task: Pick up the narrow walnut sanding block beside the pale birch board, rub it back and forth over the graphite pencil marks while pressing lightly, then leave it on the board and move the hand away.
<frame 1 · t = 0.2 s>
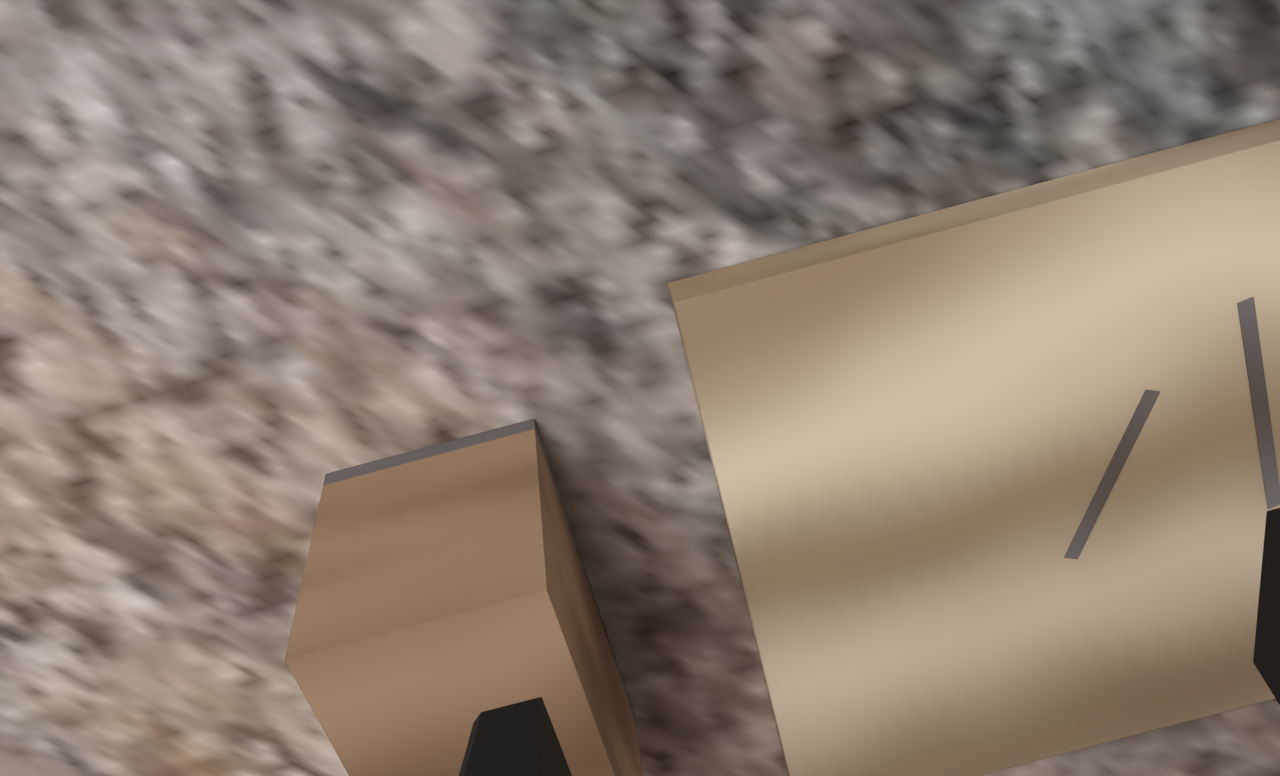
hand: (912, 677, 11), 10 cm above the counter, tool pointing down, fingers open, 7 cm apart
sanding block: (493, 599, 22), on the counter
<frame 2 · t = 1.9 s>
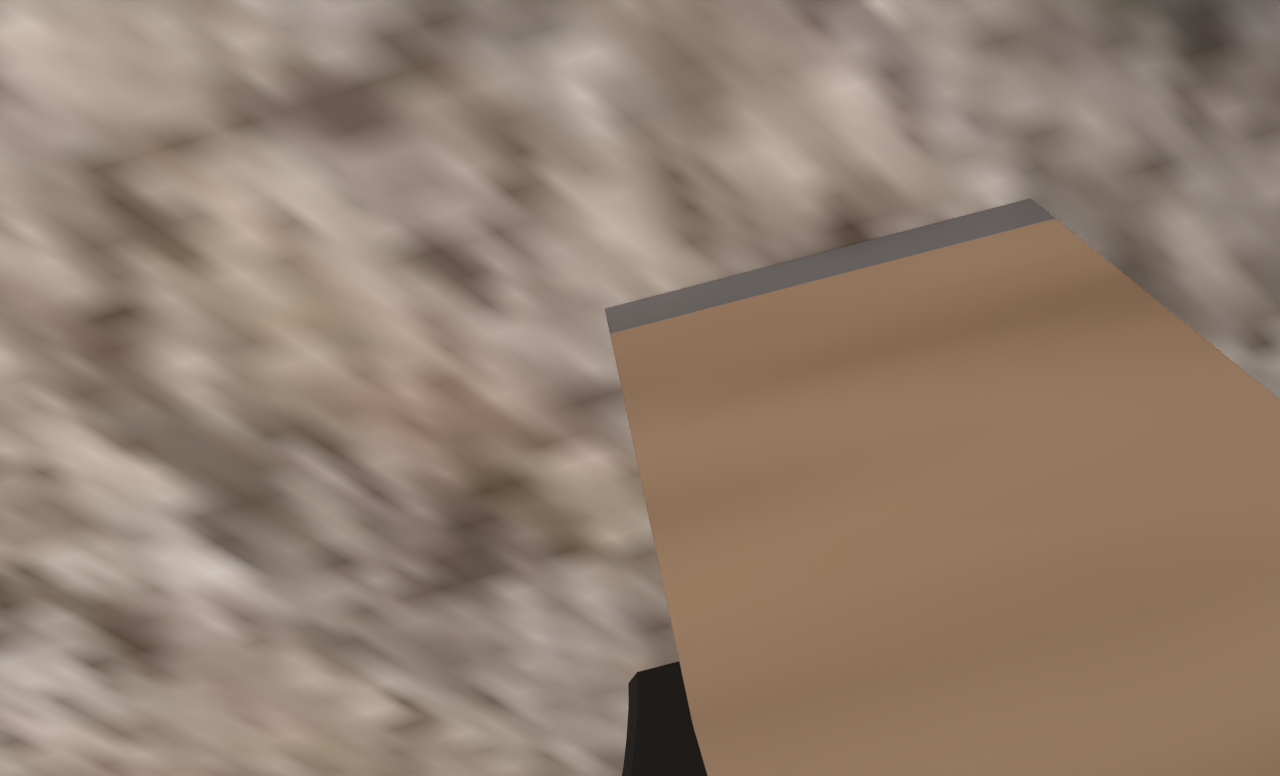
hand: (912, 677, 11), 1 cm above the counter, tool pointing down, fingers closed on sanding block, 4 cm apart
sanding block: (867, 580, 12), on the counter, touching gripper
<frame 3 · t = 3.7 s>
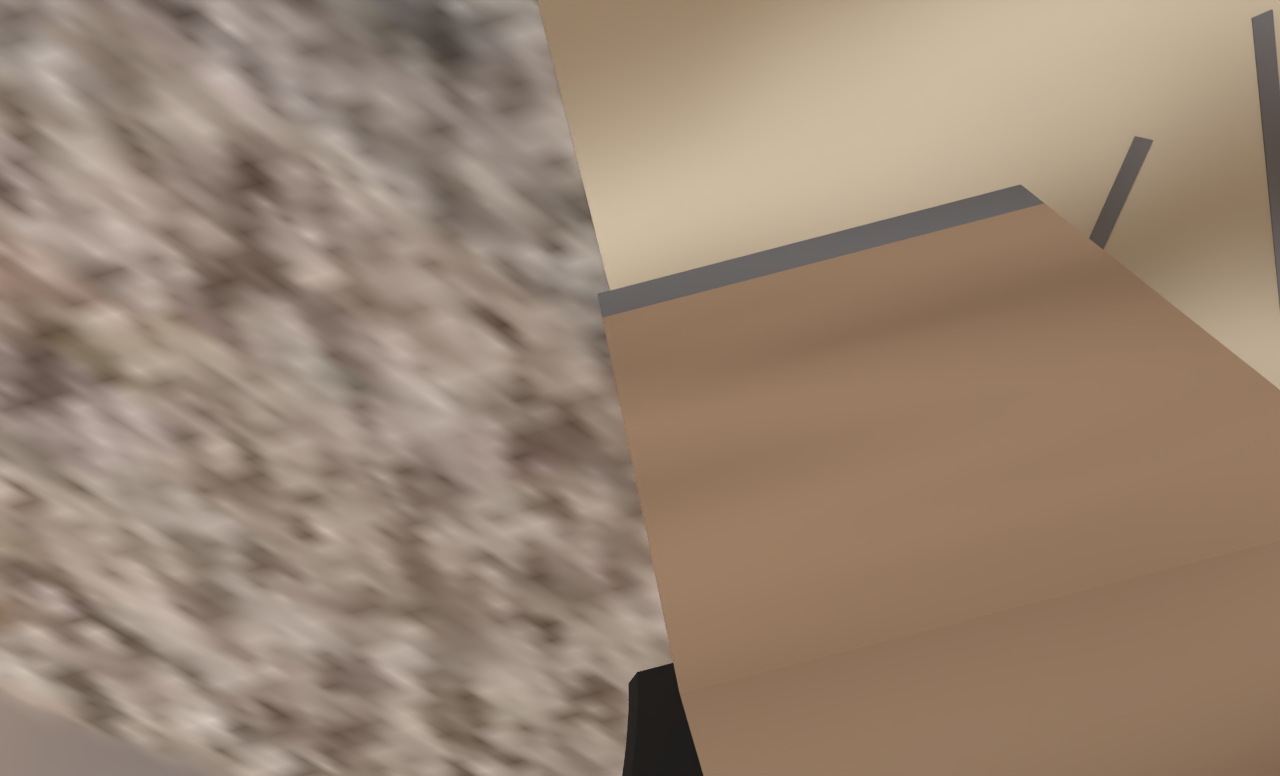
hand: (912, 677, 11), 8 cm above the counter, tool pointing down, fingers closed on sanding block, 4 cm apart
sanding block: (859, 566, 12), point 7 cm above the counter, touching gripper
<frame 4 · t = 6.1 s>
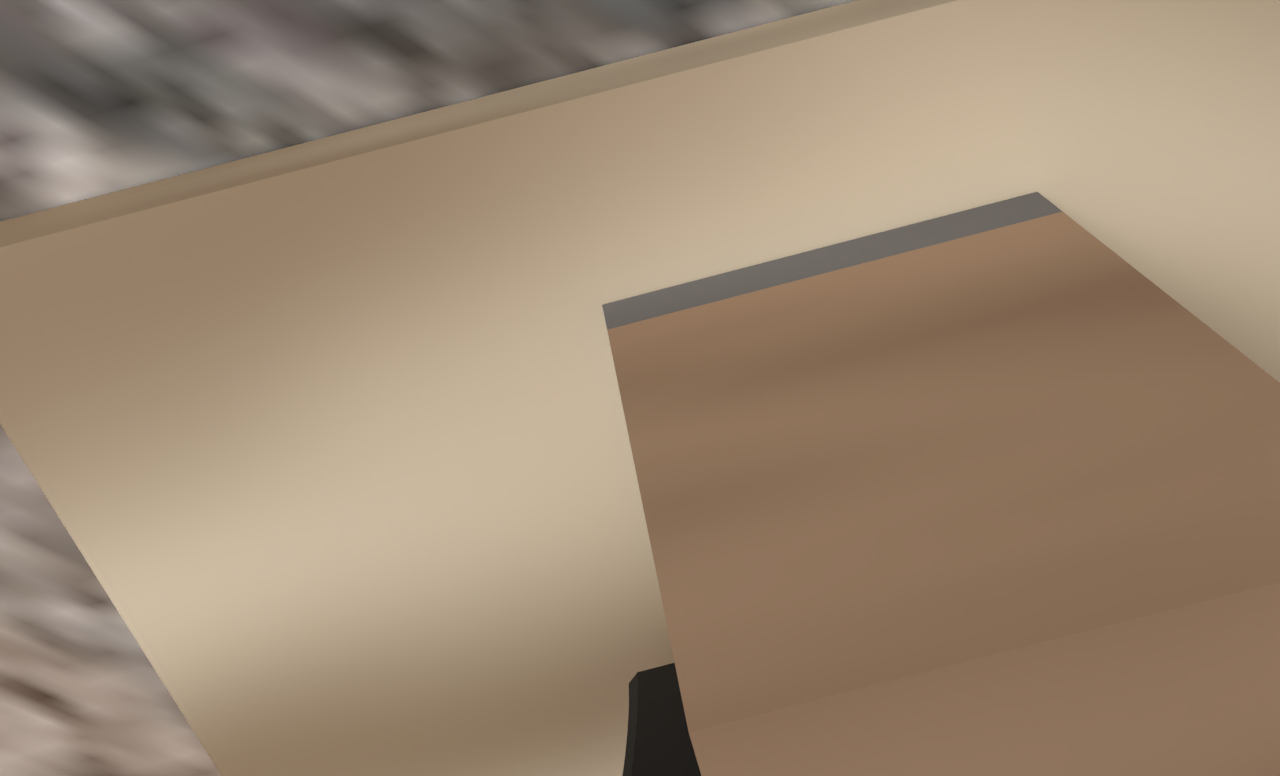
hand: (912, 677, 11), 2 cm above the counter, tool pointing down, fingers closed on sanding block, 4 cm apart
board: (1231, 515, 13), on the counter
sanding block: (870, 581, 12), point 1 cm above the counter, touching gripper
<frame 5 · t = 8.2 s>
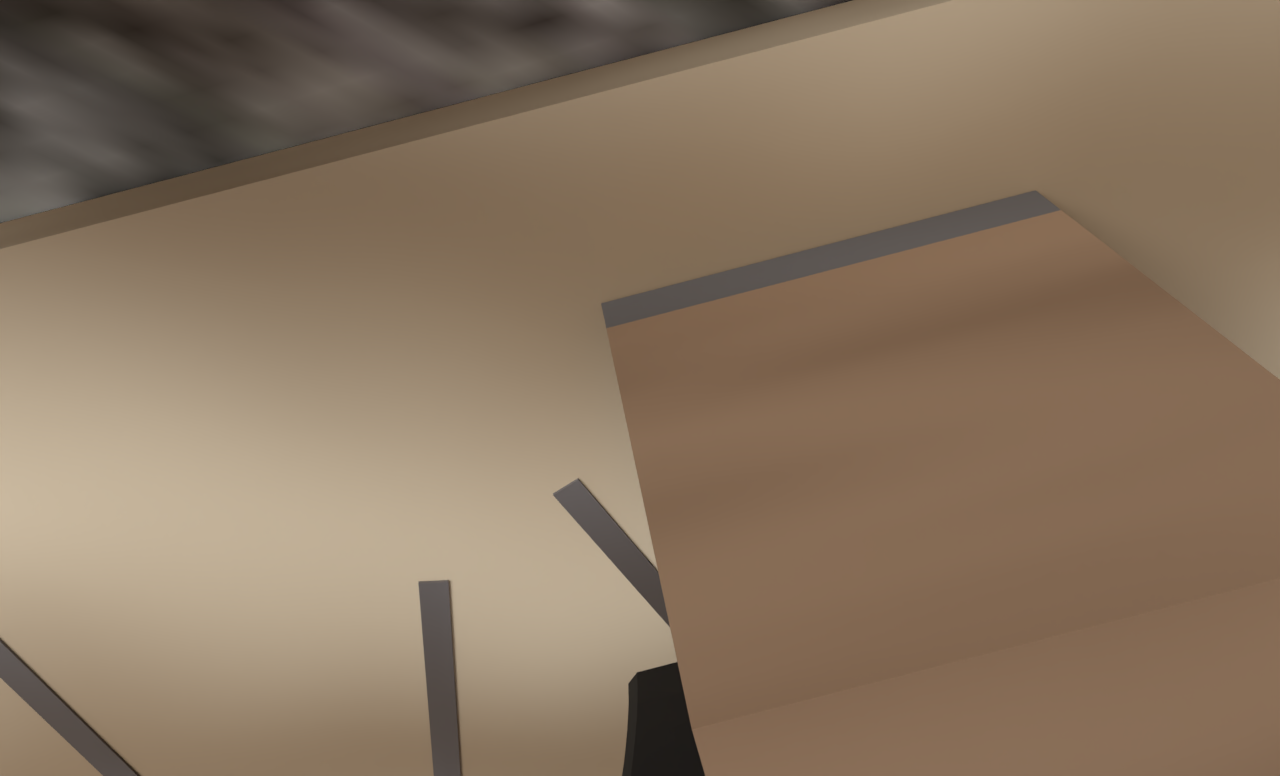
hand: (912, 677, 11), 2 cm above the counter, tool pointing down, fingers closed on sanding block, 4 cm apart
board: (299, 753, 13), on the counter
sanding block: (869, 580, 12), point 1 cm above the counter, touching board, gripper
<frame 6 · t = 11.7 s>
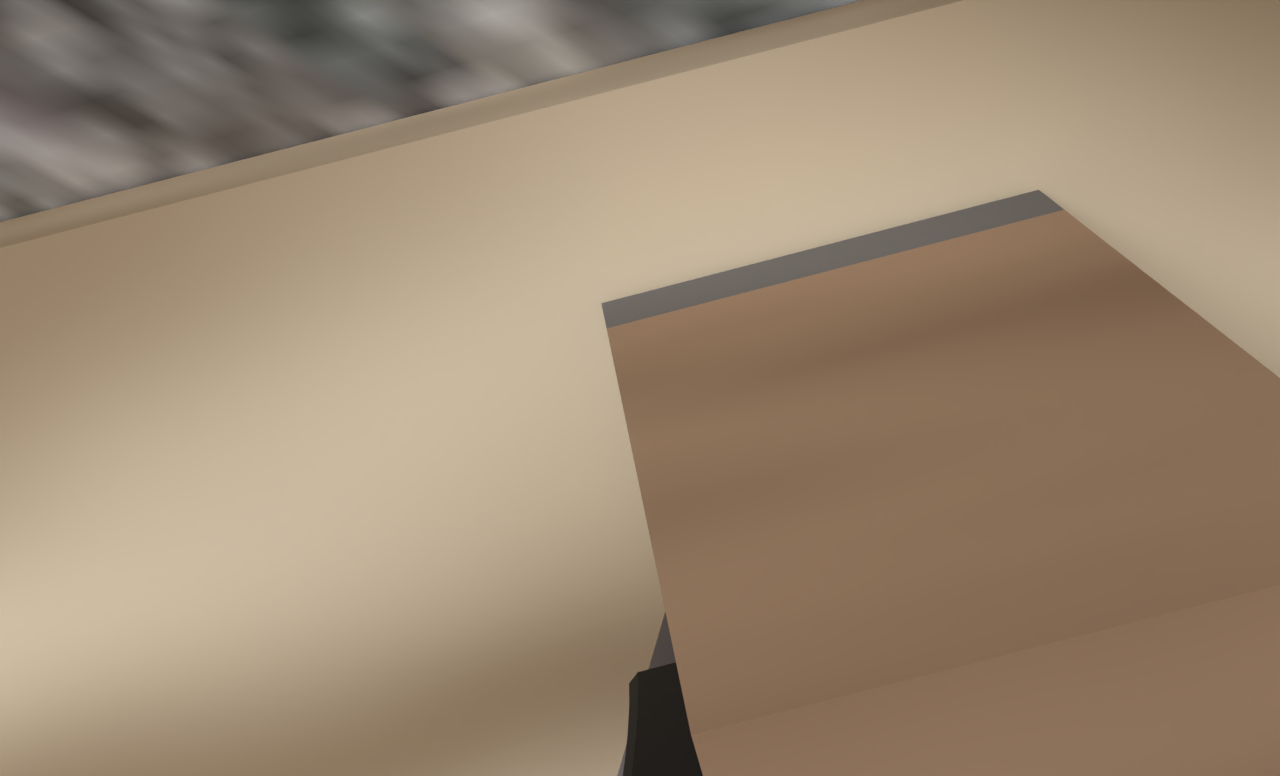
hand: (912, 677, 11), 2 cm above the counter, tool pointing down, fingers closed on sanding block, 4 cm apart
board: (1033, 566, 13), on the counter
sanding block: (870, 581, 12), point 1 cm above the counter, touching gripper
when the fingers open (2 cm above the counter, at t = 15.1 s): sanding block stays where it is, resting on board.
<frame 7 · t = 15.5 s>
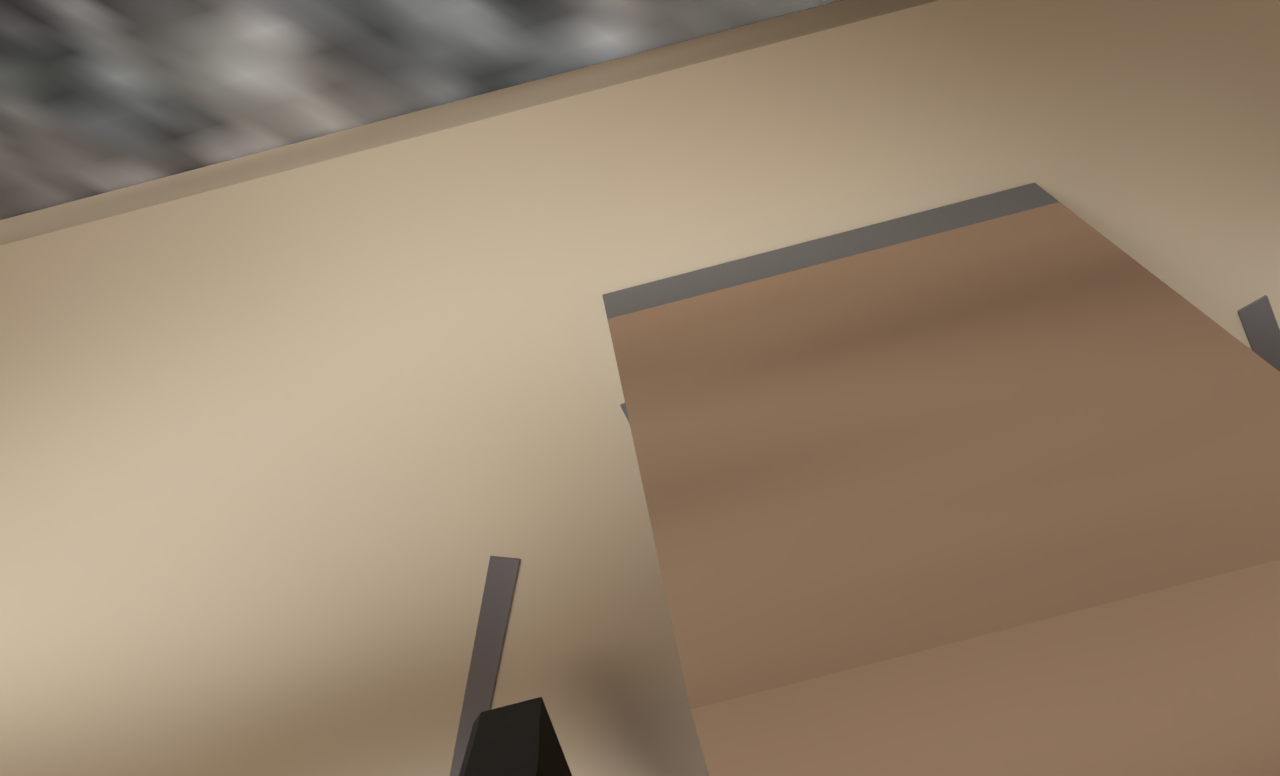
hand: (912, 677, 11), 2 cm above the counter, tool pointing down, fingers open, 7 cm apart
board: (858, 603, 13), on the counter
sanding block: (868, 572, 12), point 1 cm above the counter, touching board
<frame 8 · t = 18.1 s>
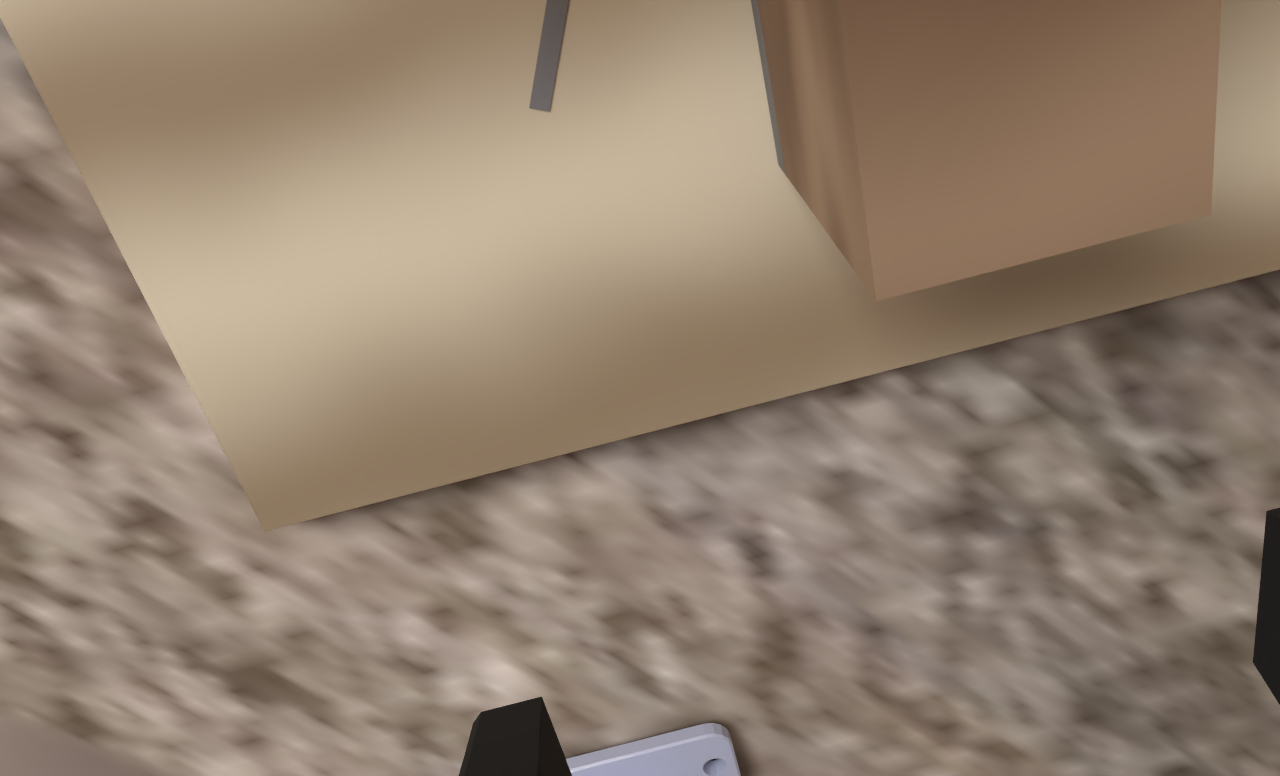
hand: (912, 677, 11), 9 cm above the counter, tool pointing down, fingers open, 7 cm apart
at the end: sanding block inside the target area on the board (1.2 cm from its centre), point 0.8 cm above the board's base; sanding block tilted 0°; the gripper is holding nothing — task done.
